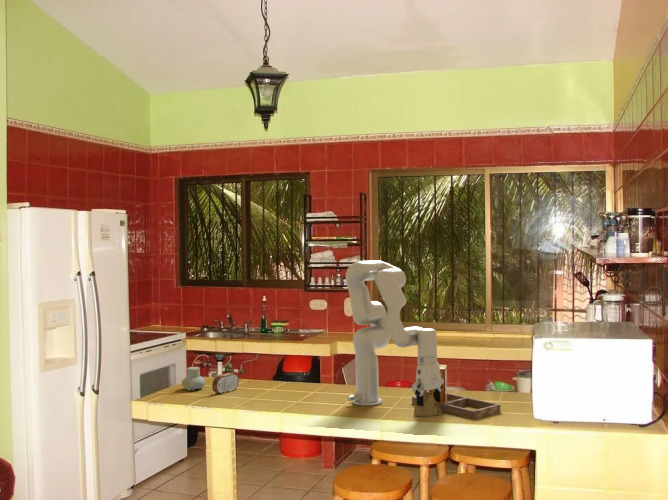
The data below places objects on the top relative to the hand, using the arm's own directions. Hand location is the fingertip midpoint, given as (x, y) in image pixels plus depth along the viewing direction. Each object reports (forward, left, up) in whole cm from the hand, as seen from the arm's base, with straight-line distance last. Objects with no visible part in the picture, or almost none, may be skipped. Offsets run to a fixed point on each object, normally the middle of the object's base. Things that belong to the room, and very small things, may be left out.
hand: (428, 403), depth 273 cm
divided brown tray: (+16, 0, -4) cm, 17 cm away
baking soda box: (+16, +9, -5) cm, 19 cm away
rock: (0, 0, -5) cm, 5 cm away
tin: (-38, +90, -5) cm, 98 cm away
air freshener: (-46, +106, -5) cm, 116 cm away
